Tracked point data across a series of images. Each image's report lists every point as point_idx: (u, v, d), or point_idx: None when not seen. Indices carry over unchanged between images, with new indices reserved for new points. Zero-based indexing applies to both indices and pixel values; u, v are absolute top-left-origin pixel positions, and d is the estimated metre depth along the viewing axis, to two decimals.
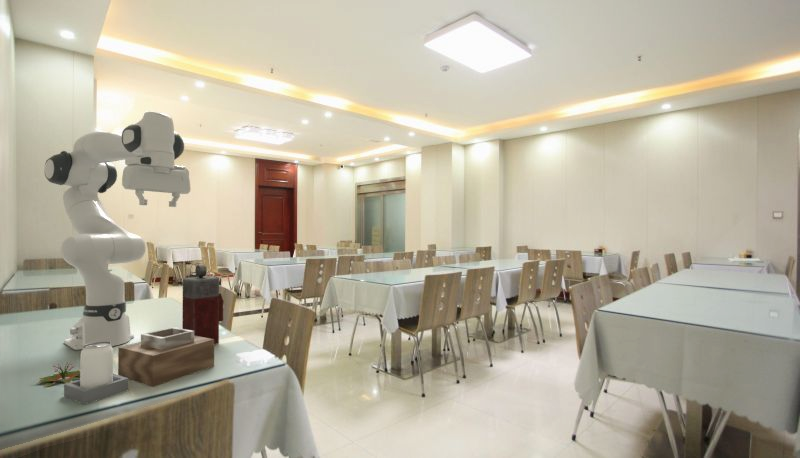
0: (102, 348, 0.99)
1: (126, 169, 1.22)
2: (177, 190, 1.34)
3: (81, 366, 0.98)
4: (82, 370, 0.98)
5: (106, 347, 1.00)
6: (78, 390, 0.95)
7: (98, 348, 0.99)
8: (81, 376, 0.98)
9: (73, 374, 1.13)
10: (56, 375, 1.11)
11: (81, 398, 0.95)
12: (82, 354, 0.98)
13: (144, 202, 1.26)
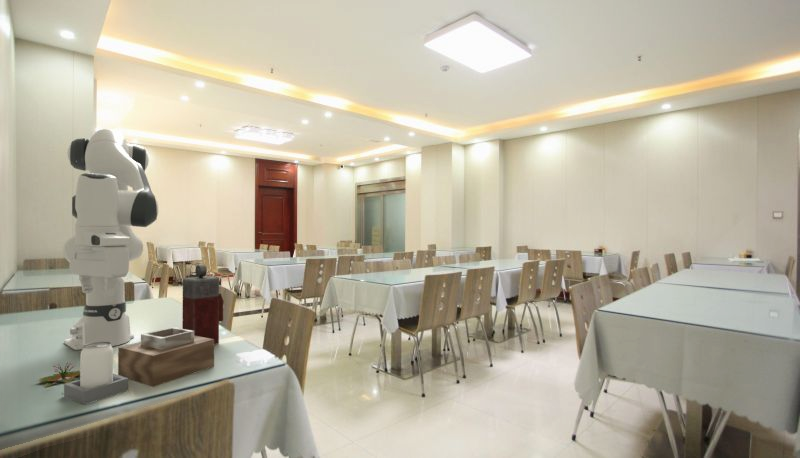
0: (102, 348, 0.99)
1: (116, 252, 0.96)
2: None
3: (81, 366, 0.98)
4: (82, 370, 0.98)
5: (106, 347, 1.00)
6: (78, 390, 0.95)
7: (98, 348, 0.99)
8: (81, 376, 0.98)
9: (73, 374, 1.13)
10: (56, 375, 1.11)
11: (81, 398, 0.95)
12: (82, 354, 0.98)
13: None
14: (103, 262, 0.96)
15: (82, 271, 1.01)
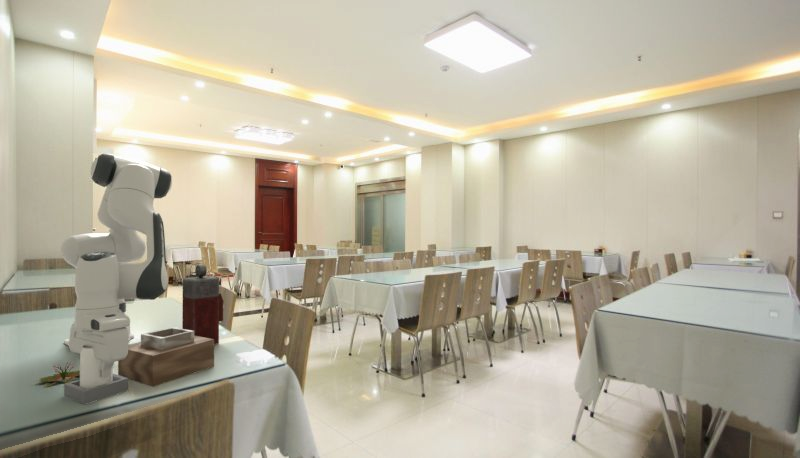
0: None
1: (116, 336, 0.96)
2: None
3: (81, 366, 0.98)
4: (82, 370, 0.98)
5: None
6: (78, 390, 0.95)
7: None
8: (81, 376, 0.98)
9: (73, 374, 1.13)
10: (56, 375, 1.11)
11: (81, 398, 0.95)
12: (82, 354, 0.98)
13: None
14: (103, 345, 0.96)
15: None
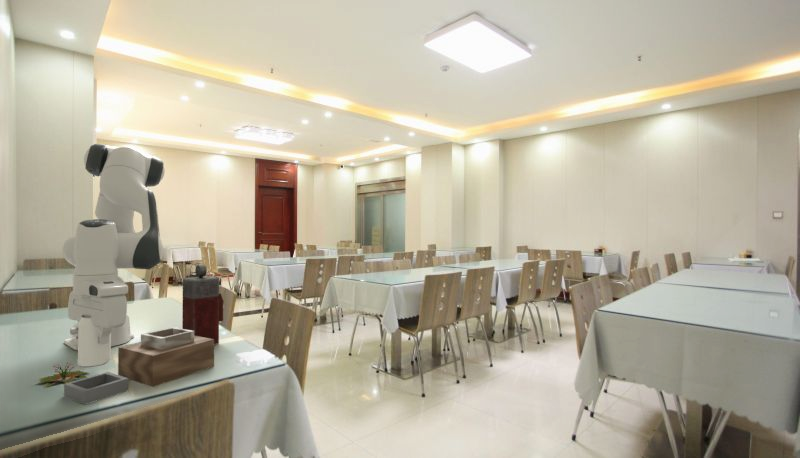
0: None
1: (114, 303, 0.96)
2: None
3: (79, 335, 0.98)
4: (79, 339, 0.98)
5: None
6: (78, 390, 0.95)
7: None
8: (78, 345, 0.98)
9: (73, 374, 1.12)
10: (56, 375, 1.11)
11: (81, 398, 0.95)
12: (80, 323, 0.98)
13: None
14: (101, 312, 0.96)
15: (80, 318, 1.01)
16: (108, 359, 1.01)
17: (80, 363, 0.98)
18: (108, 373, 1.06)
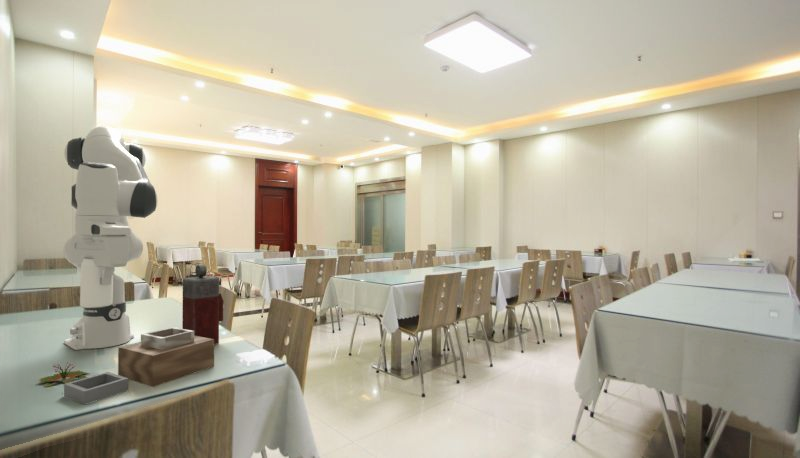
0: None
1: (116, 242, 0.96)
2: None
3: (81, 276, 0.98)
4: (82, 280, 0.98)
5: None
6: (78, 390, 0.95)
7: None
8: (81, 286, 0.98)
9: (73, 374, 1.12)
10: (56, 375, 1.11)
11: (81, 398, 0.95)
12: (82, 264, 0.98)
13: None
14: (103, 251, 0.96)
15: (82, 261, 1.01)
16: (110, 302, 1.01)
17: (82, 304, 0.98)
18: (108, 373, 1.06)
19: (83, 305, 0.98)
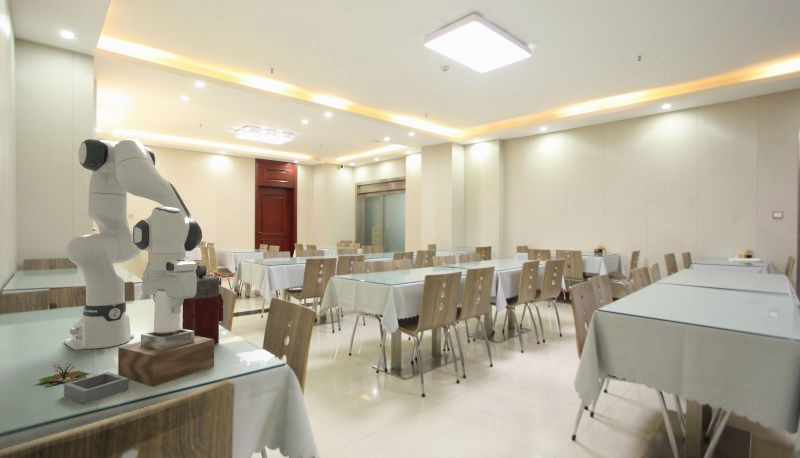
0: None
1: (187, 277, 1.12)
2: None
3: (155, 306, 1.14)
4: (156, 309, 1.14)
5: None
6: (78, 390, 0.95)
7: None
8: (155, 314, 1.14)
9: (73, 374, 1.12)
10: (57, 375, 1.11)
11: (81, 398, 0.95)
12: (157, 296, 1.14)
13: None
14: (175, 285, 1.12)
15: (155, 292, 1.16)
16: (179, 327, 1.17)
17: (156, 330, 1.14)
18: (108, 373, 1.06)
19: (157, 331, 1.14)
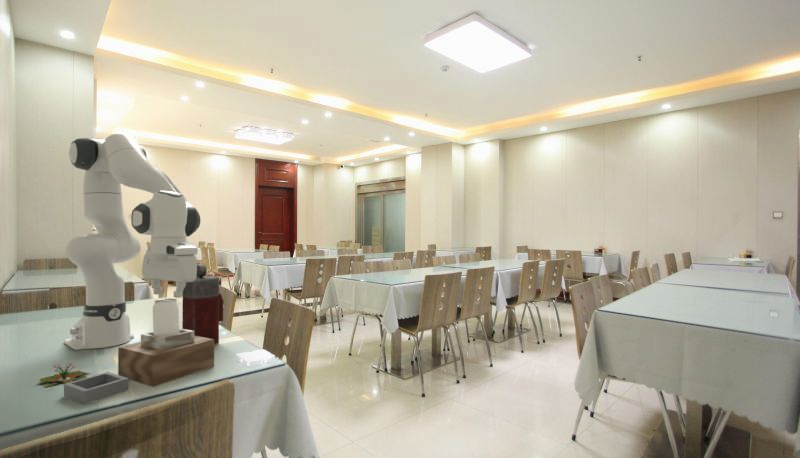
0: (170, 302, 1.16)
1: (187, 261, 1.12)
2: None
3: (154, 317, 1.14)
4: (155, 321, 1.14)
5: (173, 302, 1.16)
6: (78, 390, 0.95)
7: (167, 302, 1.15)
8: (154, 326, 1.14)
9: (74, 374, 1.12)
10: (57, 375, 1.11)
11: (81, 398, 0.95)
12: (154, 307, 1.14)
13: None
14: (176, 268, 1.12)
15: (155, 275, 1.16)
16: None
17: None
18: (108, 373, 1.06)
19: None
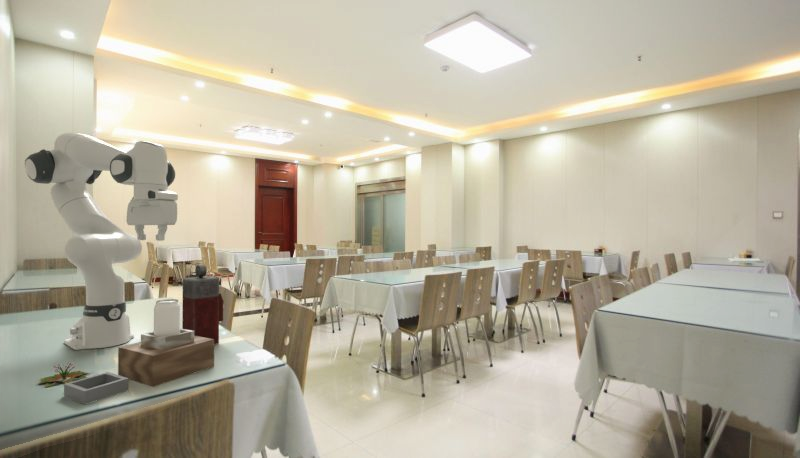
0: (172, 303, 1.15)
1: (168, 204, 1.19)
2: None
3: (155, 318, 1.14)
4: (156, 321, 1.14)
5: (175, 303, 1.16)
6: (78, 390, 0.95)
7: (169, 303, 1.15)
8: (155, 327, 1.14)
9: (74, 374, 1.12)
10: (57, 375, 1.11)
11: (81, 398, 0.95)
12: (156, 308, 1.14)
13: None
14: (157, 212, 1.20)
15: (138, 221, 1.24)
16: None
17: None
18: (108, 373, 1.06)
19: None
